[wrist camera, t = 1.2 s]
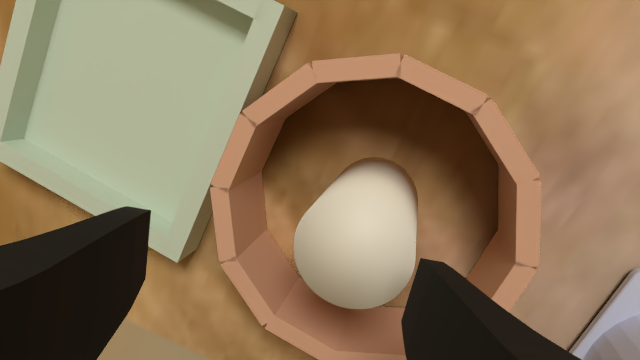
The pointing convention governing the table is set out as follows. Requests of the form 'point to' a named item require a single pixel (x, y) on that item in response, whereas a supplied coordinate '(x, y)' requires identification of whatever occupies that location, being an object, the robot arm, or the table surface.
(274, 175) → the table surface
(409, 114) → the table surface
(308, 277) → the peg
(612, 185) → the table surface
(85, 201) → the tray
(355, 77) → the segmented salmon ring
